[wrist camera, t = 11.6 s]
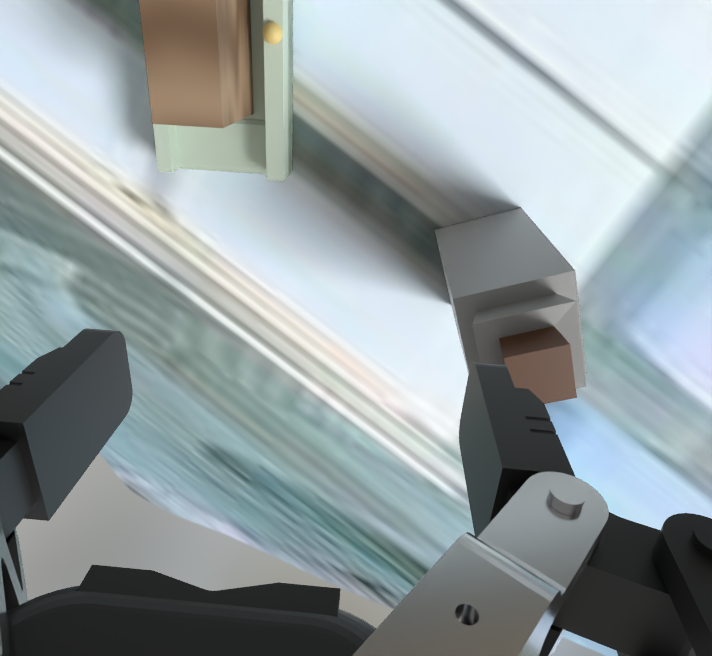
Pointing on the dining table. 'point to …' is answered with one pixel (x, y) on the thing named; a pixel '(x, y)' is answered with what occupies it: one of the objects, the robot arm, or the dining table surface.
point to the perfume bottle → (515, 302)
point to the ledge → (258, 131)
